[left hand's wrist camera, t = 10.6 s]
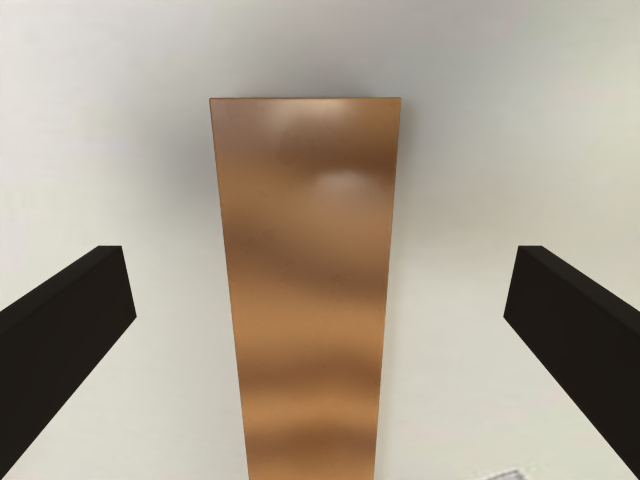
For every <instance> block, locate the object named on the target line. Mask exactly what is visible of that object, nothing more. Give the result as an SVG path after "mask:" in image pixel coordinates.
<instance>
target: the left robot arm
mask: <svg viewBox="0 0 640 480" xmlns="http://www.w3.org/2000/svg"><path fill="white" fill-rule="evenodd" d="M136 317H137V316H136V311H135V306H134V302H133V297H132V292H131V288H130V283H129V278H128V274H127V269H126V264H125V260H124V255H123V250H122V246H97V247H96V248H94V249H93V250H91V251H90V252H88V253H87V254H85V255H84V256H82V257H81V258H79V259H78V260H76V261H75V262H73V263H72V264H70V265H69V266H67V267H66V268H64V269H63V270H61V271H60V272H59V273H57V274H56V275H54V276H53V277H51V278H50V279H48V280H47V281H45V282H44V283H42V284H41V285H39V286H38V287H36V288H35V289H33V290H32V291H30V292H29V293H27V294H26V295H24V296H23V297H21V298H20V299H18V300H17V301H15V302H14V303H12V304H11V305H9V306H8V307H6V308H5V309H3V310H2V311H0V480H2V478H3V477H4V476H5V475H6V473H7V472H8V471H9V470H10V469H11V467H12V466H13V465H14V464H15V463H16V461H17V460H18V459H19V458H20V457H21V455H22V454H23V453H24V452H25V451H26V449H27V448H28V447H29V446H30V445H31V443H32V442H33V441H34V440H35V439H36V437H37V436H38V435H39V434H40V433H41V431H42V430H43V429H44V428H45V427H46V425H47V424H48V423H49V422H50V421H51V419H52V418H53V417H54V416H55V415H56V413H57V412H58V411H59V410H60V409H61V407H62V406H63V405H64V404H65V403H66V401H67V400H68V399H69V398H70V397H71V395H72V394H73V393H74V392H75V391H76V389H77V388H78V387H79V386H80V385H81V383H82V382H83V381H84V380H85V379H86V377H87V376H88V375H89V374H90V373H91V371H92V370H93V369H94V368H95V367H96V365H97V364H98V363H99V362H100V361H101V359H102V358H103V357H104V356H105V355H106V353H107V352H108V351H109V350H110V349H111V347H112V346H113V345H114V344H115V343H116V341H117V340H118V339H119V338H120V337H121V335H122V334H123V333H124V332H125V330H126V329H127V328H128V327H129V326H130V324H131V323H132V322H133V321H134V320H135V318H136ZM503 317H504V318H505V320H506V321H507V322H508V323H509V324H510V326H511V327H512V328H513V329H514V330H515V332H516V333H517V334H518V335H519V337H520V338H521V339H522V340H523V341H524V343H525V344H526V345H527V346H528V347H529V349H530V350H531V351H532V352H533V353H534V355H535V356H536V357H537V358H538V359H539V361H540V362H541V363H542V364H543V365H544V367H545V368H546V369H547V370H548V371H549V373H550V374H551V375H552V376H553V377H554V379H555V380H556V381H557V382H558V383H559V385H560V386H561V387H562V388H563V389H564V391H565V392H566V393H567V394H568V395H569V397H570V398H571V399H572V400H573V401H574V403H575V404H576V405H577V406H578V407H579V409H580V410H581V411H582V412H583V413H584V415H585V416H586V417H587V418H588V419H589V421H590V422H591V423H592V424H593V425H594V427H595V428H596V429H597V430H598V431H599V433H600V434H601V435H602V436H603V437H604V439H605V440H606V441H607V442H608V443H609V445H610V446H611V447H612V448H613V449H614V451H615V452H616V453H617V454H618V455H619V457H620V458H621V459H622V460H623V461H624V463H625V464H626V465H627V466H628V467H629V469H630V470H631V471H632V472H633V473H634V475H635V476H636V477H637V478H638V480H640V311H638V310H637V309H635V308H634V307H632V306H631V305H629V304H628V303H626V302H625V301H623V300H622V299H620V298H619V297H617V296H616V295H614V294H613V293H611V292H610V291H608V290H607V289H605V288H604V287H602V286H601V285H599V284H598V283H596V282H595V281H593V280H592V279H590V278H589V277H587V276H586V275H584V274H583V273H581V272H580V271H579V270H577V269H576V268H574V267H573V266H571V265H570V264H568V263H567V262H565V261H564V260H562V259H561V258H559V257H558V256H556V255H555V254H553V253H552V252H550V251H549V250H547V249H546V248H544V247H543V246H518V250H517V255H516V260H515V264H514V269H513V274H512V278H511V283H510V288H509V292H508V297H507V302H506V306H505V311H504V316H503Z"/></svg>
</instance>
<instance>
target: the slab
mask: <svg viewBox="0 0 640 480" xmlns="http://www.w3.org/2000/svg"><path fill="white" fill-rule="evenodd" d="M209 102H210V112H211V121H212V131H213V140H214V150H215V159H216V169H217V178H218V188H219V197H220V207H221V217H222V226H223V236H224V245H225V255H226V264H227V274H228V283H229V293H230V302H231V312H232V321H233V331H234V340H235V350H236V359H237V369H238V378H239V388H240V397H241V407H242V416H243V426H244V435H245V445H246V454H247V464H248V473H249V480H373V478H374V464H375V451H376V437H377V423H378V409H379V396H380V382H381V368H382V354H383V340H384V327H385V313H386V299H387V285H388V272H389V258H390V244H391V230H392V217H393V203H394V189H395V175H396V161H397V148H398V134H399V120H400V106H401V98H400V97H347V98H210V99H209Z"/></svg>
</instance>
